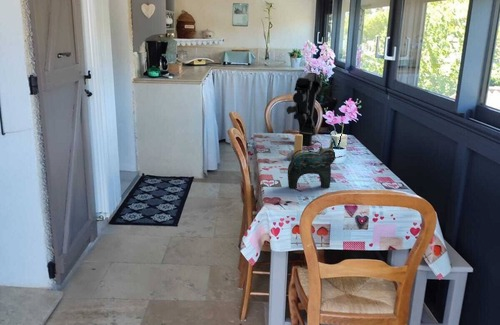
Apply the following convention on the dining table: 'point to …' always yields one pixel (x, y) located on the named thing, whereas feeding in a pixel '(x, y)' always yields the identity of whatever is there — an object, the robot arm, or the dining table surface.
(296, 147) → the switch tab
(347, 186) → the dining table surface
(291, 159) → the switch housing
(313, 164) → the dark green animal figurine
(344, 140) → the ink box
